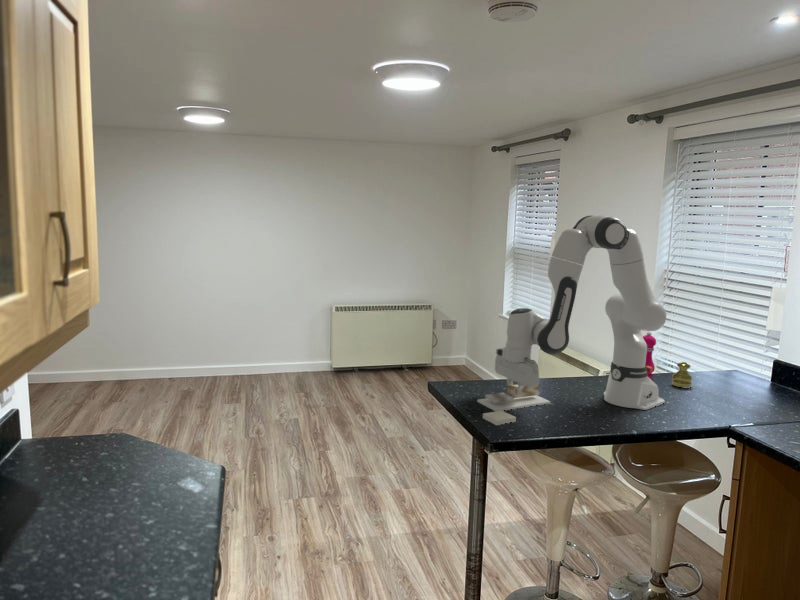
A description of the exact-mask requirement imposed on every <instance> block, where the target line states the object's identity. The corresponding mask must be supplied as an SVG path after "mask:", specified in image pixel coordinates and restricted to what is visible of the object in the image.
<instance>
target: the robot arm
mask: <svg viewBox="0 0 800 600" xmlns="http://www.w3.org/2000/svg"><path fill="white" fill-rule="evenodd" d="M593 248H595V249H606V250H607V252H608V259H609V265H610V271H611V277H612V283H613V285H614V286H615V288H616V289H617V290H618V291H619V293H620V294H614V295H612V296H610V297H609V298H608V299H607V300H606V303H605V307H604V308H605V309H604V311H605V314H606V315H607V317H608V319H609V321H610V324H611V328H612V333H613V354H612V355H613V356H612V361H611V362H610V363H611V364H610V370H609V371H610V374H609V375H608V378H607V383H606V384H607V385H606V388H605V391H604V392H603V396H604V397H603V400H604V401H605V402H606V403H608V404H611V405H613V406H618V407H622V408H629V409H638V410H642V411H643V410H645V411H646V410H649V409H653V408H655V406H656V407H658V406H661V405H664V404H665V402H666V401H665V399H663V398H662V397H660V396H659V386H658V385H657V384H656V383H655V382H654V381H653V379H650V378H649V377H648V374H647V371H648V372H652V371H653V367H649V366H647V367H646V366H645V362H646V354H647V344H646V342H645V340H644V339H643V334H642V331H645V332H655V331H658V330H660V329H661V328H663V326H664V325H665V323H666V320H667V311H666V309H665V307H664V306H663V305H662V304H661V303H660V302H659V300H658V299H657V297H656V295H655V294H654V292H653V290H652V287H651V285H650V283H649V280H648V277H647V273H646V266H645V265H646V264H645V261H644V254H643V249H642V245H641V242H640V239H639V236H638V234H637V231H635V230H633V229H632V228H627V226H626V225H625V223H624V222H623V221H622V220H620V219H619V218H617V217H614V216H608V215H602V214H601V215H586V216H584V217H582V218H580V219H579V220H578V221H577V222H576V223H575V225H574V226H573V227H572V228H567V229H565V230H564V231H562V233H561V234H560V236H559V238H558V239H557V241H556V243H555V246H554V249H553V251H552V253H551V256H550V261H549V264H548V268H547V269H548V270H547V277H548V279H549V281H550V284H551V286H552V288H553V291H554V300H553V303H552V307H551V312H550V315H549V318H546V317H544V316H542V315H540V314H538V313H536V312H535V311H534V310H533V309H531V308H528V307H527V308H523V307H522V308H516V309H514V310H512V311H511V312H510V313H509V316H508V319H507V320H508V321H507V327H506V337H507V339H506V342H505V347H501V348H496V349H495V354H496V356H495V361H494V371H495V373H496V374H498V376H499V375H500V376H502V377H504V378H506V383H507V386H509V385H514V382H515V383H517V385H518V388H517V389H515V393H516V394H518V395H521V394H522V389H523V388H524V386H527V387H529V388H533V387H537V386H538V385H539V384H540V372H539V365H538V364H537V362H536V360H534V359H532V358H531V354H532V346H533V345H537V347H539V348H540V349H541V350H542V352H544V353H545V354H547V355H558V354H560V353H563V351H565V349H566V348H567V347H568V345H569V343H570V333H569V332H570V331H569V327H570V326H569V325H570V319H571V316H572V312H573V309H574V308H573V307H574V304H575V299H576V295H577V288H578V286H579V285H578V284H579V280H580V277H581V274H582V271H583V267H584V264H585V261H586V257H587V255H588V253H589V252H590V251H591V249H593ZM663 403H664V404H663Z"/></svg>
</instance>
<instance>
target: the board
mask: <svg viewBox="0 0 800 600" xmlns="http://www.w3.org/2000/svg"><path fill="white" fill-rule="evenodd" d="M476 402H477V403H479V404H481V405H482V406H484V407H486V408H488V409H491V410H492V411H493V412H496V411H504V410H505V411H511V409H512V410H518V409H523V408H524V407H525V408H529V407H530V406H532V407H537V406H536V405H538V406H542V405H544V404H545V405H551V401H550V400H548V399H546V398H544V397H541V396H539V395H535V396H527V397H520V398H514V400H513V401H505V402H498V403H495V402H493V401H491V400H489V399H487V398H485V397H484V398H479V399H477V400H476ZM545 405H544V406H545ZM517 408H518V409H517ZM530 408H531V407H530ZM505 411H504V412H505Z"/></svg>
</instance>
